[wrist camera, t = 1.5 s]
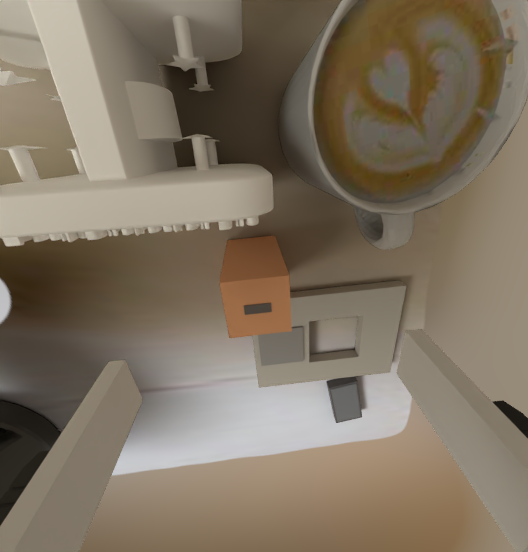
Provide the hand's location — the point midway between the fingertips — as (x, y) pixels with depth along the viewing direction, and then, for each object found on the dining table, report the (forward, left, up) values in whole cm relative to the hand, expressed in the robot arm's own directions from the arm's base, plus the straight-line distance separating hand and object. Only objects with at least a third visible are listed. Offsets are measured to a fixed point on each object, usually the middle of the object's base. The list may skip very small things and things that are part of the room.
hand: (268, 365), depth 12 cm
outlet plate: (+7, -10, -14) cm, 18 cm away
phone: (+10, -21, -14) cm, 27 cm away
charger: (0, 0, -14) cm, 14 cm away
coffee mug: (+8, +9, -14) cm, 18 cm away
